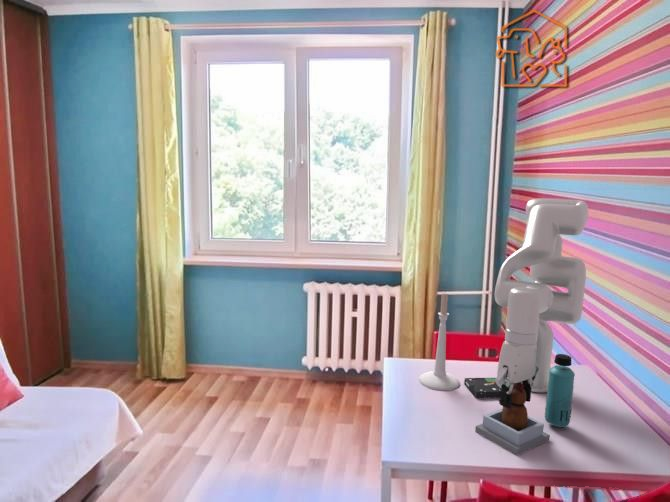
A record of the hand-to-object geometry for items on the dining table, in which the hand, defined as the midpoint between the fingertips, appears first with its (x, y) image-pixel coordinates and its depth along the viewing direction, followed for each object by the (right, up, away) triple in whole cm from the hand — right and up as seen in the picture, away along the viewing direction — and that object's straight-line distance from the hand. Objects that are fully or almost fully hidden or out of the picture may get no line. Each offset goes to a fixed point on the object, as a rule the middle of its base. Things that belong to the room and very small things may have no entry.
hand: (514, 402), depth 129 cm
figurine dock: (0, -9, +1) cm, 9 cm away
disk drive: (+3, -5, +28) cm, 29 cm away
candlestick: (-13, -4, +34) cm, 36 cm away
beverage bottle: (+14, -9, +7) cm, 18 cm away
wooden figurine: (0, -8, +1) cm, 8 cm away
